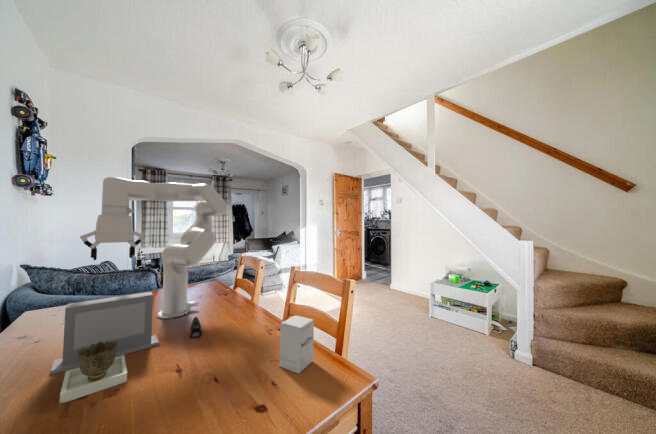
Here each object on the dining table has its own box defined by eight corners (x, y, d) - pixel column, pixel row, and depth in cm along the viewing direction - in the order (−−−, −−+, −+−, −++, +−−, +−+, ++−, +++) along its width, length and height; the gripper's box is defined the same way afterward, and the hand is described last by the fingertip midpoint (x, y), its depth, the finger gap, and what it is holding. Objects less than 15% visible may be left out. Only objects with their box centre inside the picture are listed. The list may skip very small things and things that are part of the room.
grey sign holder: (155, 337, 85) (157, 290, 86) (158, 344, 80) (160, 294, 81) (54, 363, 69) (57, 304, 69) (50, 374, 64) (54, 310, 64)
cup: (91, 389, 57) (93, 355, 58) (67, 385, 59) (69, 352, 59) (123, 371, 65) (124, 341, 65) (101, 367, 66) (103, 338, 66)
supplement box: (299, 374, 65) (300, 328, 66) (278, 366, 69) (279, 322, 69) (313, 361, 71) (314, 319, 72) (294, 354, 75) (294, 314, 76)
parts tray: (124, 362, 70) (124, 354, 70) (126, 381, 61) (127, 372, 61) (65, 379, 62) (66, 371, 62) (59, 404, 53) (60, 394, 53)
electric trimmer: (200, 323, 100) (201, 315, 100) (201, 337, 86) (202, 329, 86) (190, 324, 98) (190, 317, 98) (189, 340, 84) (190, 331, 85)
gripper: (144, 213, 95) (142, 255, 94) (82, 210, 83) (79, 259, 83) (146, 212, 90) (144, 257, 89) (80, 209, 78) (78, 262, 77)
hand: (113, 258), depth 86 cm, fingers open, 9 cm apart
